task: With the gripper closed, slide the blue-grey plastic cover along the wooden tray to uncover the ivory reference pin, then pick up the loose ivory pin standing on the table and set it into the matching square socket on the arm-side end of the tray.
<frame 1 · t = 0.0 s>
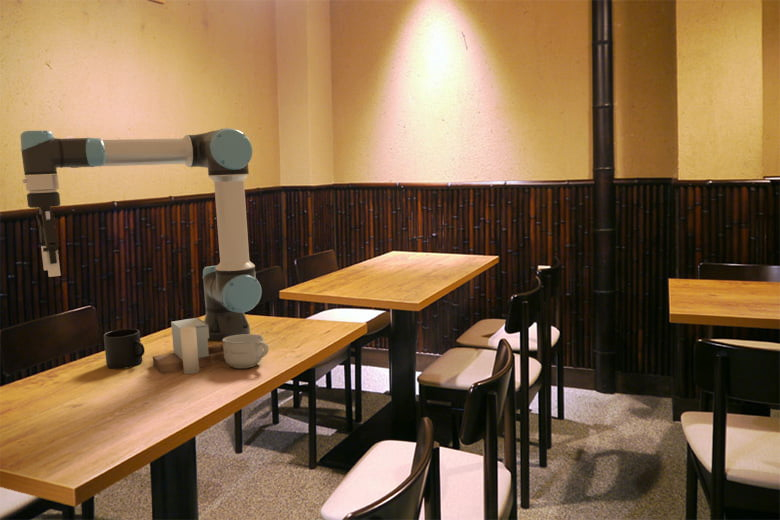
hand: (52, 273, 176), 28 cm above the table, fingers open, 13 cm apart
mug: (128, 365, 189), on the table
cover: (190, 338, 187), point 7 cm above the table, slide at 0.0 cm
wooden tray: (192, 362, 188), on the table
pin: (191, 371, 180), on the table
teacup: (248, 367, 183), on the table
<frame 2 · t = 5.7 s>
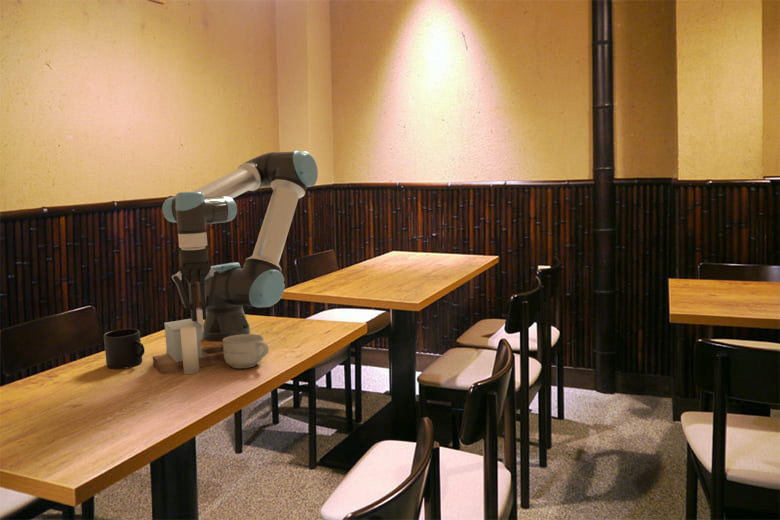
hand: (199, 331, 188), 9 cm above the table, fingers closed
cover: (183, 339, 186), point 7 cm above the table, slide at 1.9 cm, touching gripper
everything else where it was.
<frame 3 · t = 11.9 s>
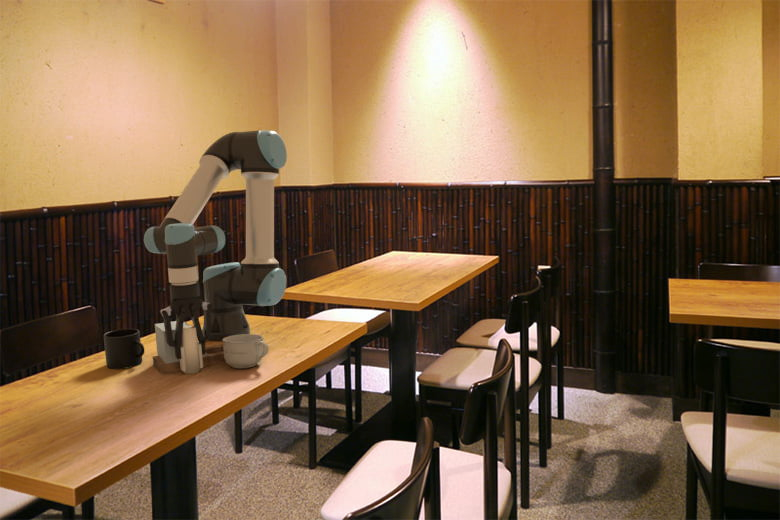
hand: (191, 368, 180), 1 cm above the table, fingers closed on pin, 4 cm apart
cover: (174, 341, 184), point 7 cm above the table, slide at 4.5 cm
pin: (192, 371, 180), on the table, touching gripper
everything else where it was.
when the fingers open (4 cm above the table, at t = 17.0 s): pin stays where it is, resting in wooden tray.
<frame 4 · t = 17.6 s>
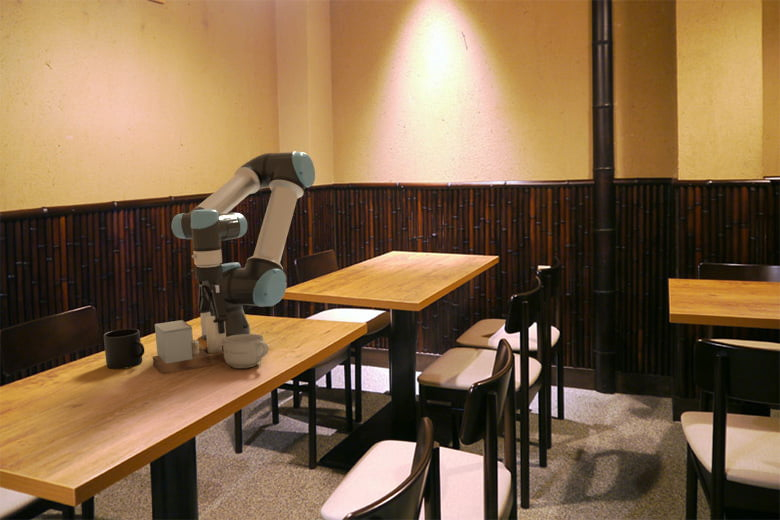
hand: (214, 339, 190), 6 cm above the table, fingers open, 13 cm apart
pin: (215, 358, 191), resting in wooden tray
teacup: (248, 367, 183), on the table, touching gripper
everything else where it was.
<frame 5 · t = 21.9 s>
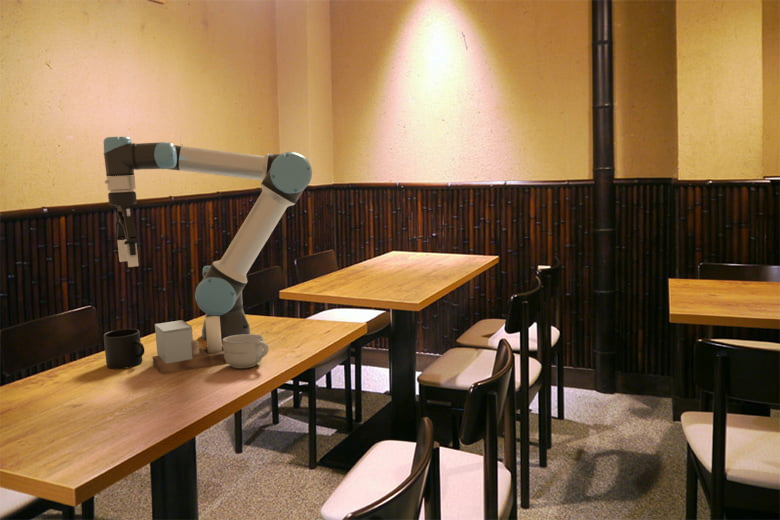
hand: (128, 264, 197), 27 cm above the table, fingers open, 13 cm apart
teacup: (248, 367, 183), on the table
everything else where it was.
at the end: cover slide at 4.5 cm; pin 0.1 cm from the target spot on the wooden tray, point 0.0 cm above the wooden tray's base; pin tilted 0° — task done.
